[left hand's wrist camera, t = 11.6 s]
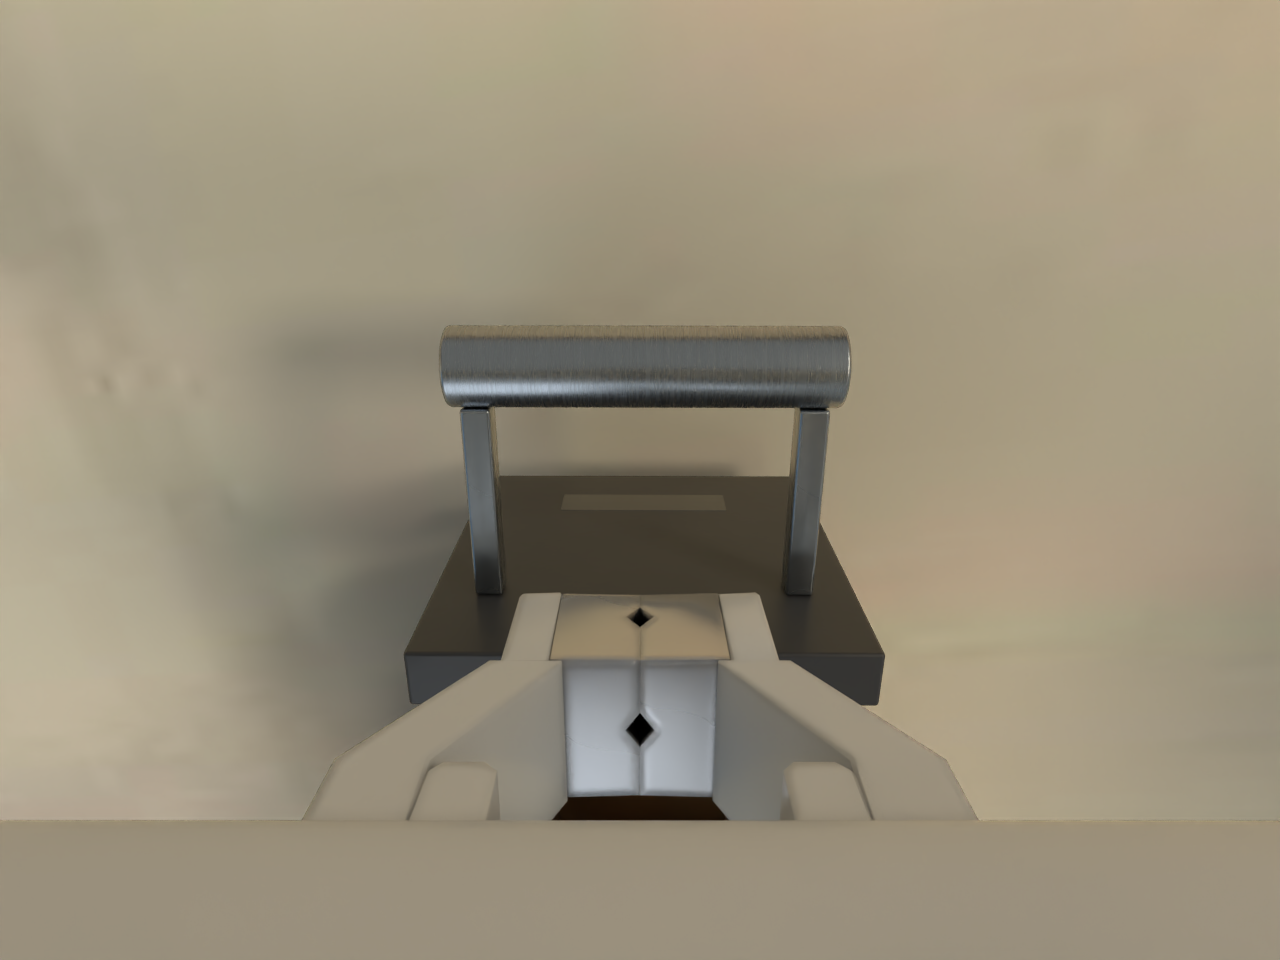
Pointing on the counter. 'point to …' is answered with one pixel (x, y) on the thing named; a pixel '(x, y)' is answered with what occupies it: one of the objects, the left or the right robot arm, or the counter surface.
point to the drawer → (645, 505)
